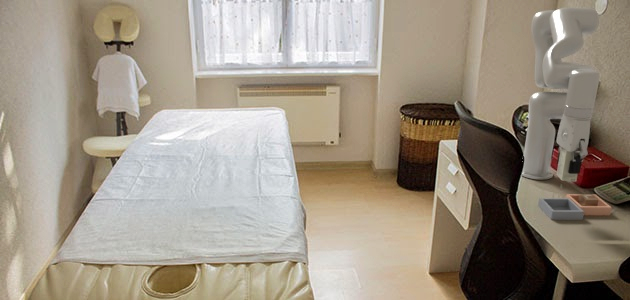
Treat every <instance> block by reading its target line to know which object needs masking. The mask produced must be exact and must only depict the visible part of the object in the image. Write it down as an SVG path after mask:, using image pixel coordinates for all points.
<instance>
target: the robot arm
mask: <svg viewBox="0 0 630 300" xmlns="http://www.w3.org/2000/svg"><path fill="white" fill-rule="evenodd" d="M599 16H600V15H599V13H598V11H597V9H594V8H592V7H561V8H558V9H554V10H553V9H552V10H551V9H549V10H548V9H547V10H541V11H539V12H537V13H535V14H534V15H533V17H532V20H531V31H530V32H531V36H532V42H533V45H534V49H535V56H534V58H535V59H534V60H535V61H534V83H535V85H536V87H538V88H541V89H552V90H565V91H566V92H561V91H560V92H559V91H537V92H534V93H533V94H532V95H530V97H529V100H528V125H527V129H526V136H525V137H526V138H525V143H524V151H523V156H524V157H525V163H524V169H523V173H522V175H521V177H525V178H528V179H531V180H538V181H539V180H541V181H544V180H549V179H551V178H553V176H554V172H553V171H552V170H551V169H550V167H551V162H552V155H553V150H554V143H555V138H556V143H557V145H558V149H557V151H558V154H557V160H556V164H557V165H558V163H559V157H560V150H561V147H562V148H564V149H565V150H567V151H568V152H572V161H570V165H569V171H568V173H569V174H580V173H581V168H582V163H583V161H584V159H585V158H586V156H587V155H588V153H589V152H588V145H589V139H590V134H591V133H590V132H591V119H593V118H592V117H593V113H594V108H595V103H596V97H597V93H598V87H599V82H600V73H599V72H598V71H597V70H596V68H594V67H593V66H592V65H588V64H579V63H577V62H567V61H562V59H564V58H567V57H569V56H573V55H575V54H576V53H578V52H579V51H580V50H581V49H582V48H583V46H584V44H585V43H584V42H585V40H584V37H583V36H589V35H592V34H594V33H595V32H596V31H597V30H598V28H599V25H600V17H599ZM554 119H556V120H558V119H559V120H560V123H559V127H558V130H557V131H558V132H557V135H556V127H555V126H554V124H553V123H552V122H551V120H554ZM578 148H580V151H575V150H576V149H578ZM575 153H579V155H577V156H576V155H575Z"/></svg>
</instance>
